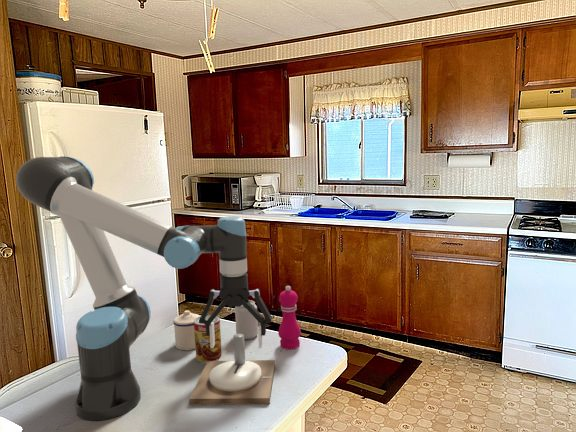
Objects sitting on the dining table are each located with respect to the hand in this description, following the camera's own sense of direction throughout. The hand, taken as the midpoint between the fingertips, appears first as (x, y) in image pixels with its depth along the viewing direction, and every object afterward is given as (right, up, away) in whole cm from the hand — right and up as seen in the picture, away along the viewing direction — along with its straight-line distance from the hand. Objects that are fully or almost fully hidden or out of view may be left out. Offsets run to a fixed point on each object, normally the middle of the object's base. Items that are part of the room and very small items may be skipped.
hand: (236, 346), depth 120 cm
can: (+1, -5, +26) cm, 27 cm away
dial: (0, -7, -5) cm, 8 cm away
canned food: (-10, -7, +12) cm, 17 cm away
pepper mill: (+15, -5, +18) cm, 24 cm away
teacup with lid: (-19, -6, +22) cm, 30 cm away
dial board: (0, -9, -4) cm, 10 cm away
